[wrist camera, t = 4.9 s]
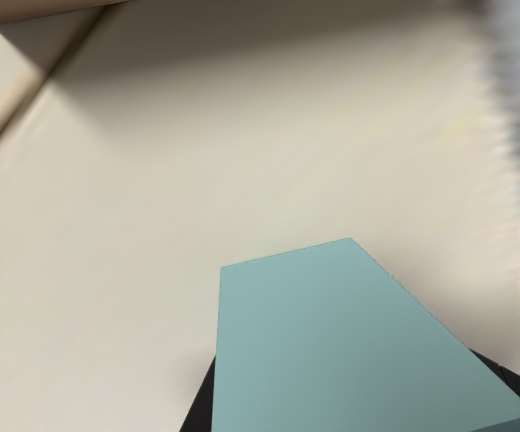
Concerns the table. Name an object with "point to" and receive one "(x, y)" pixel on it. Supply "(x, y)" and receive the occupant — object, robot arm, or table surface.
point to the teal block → (343, 353)
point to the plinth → (44, 7)
